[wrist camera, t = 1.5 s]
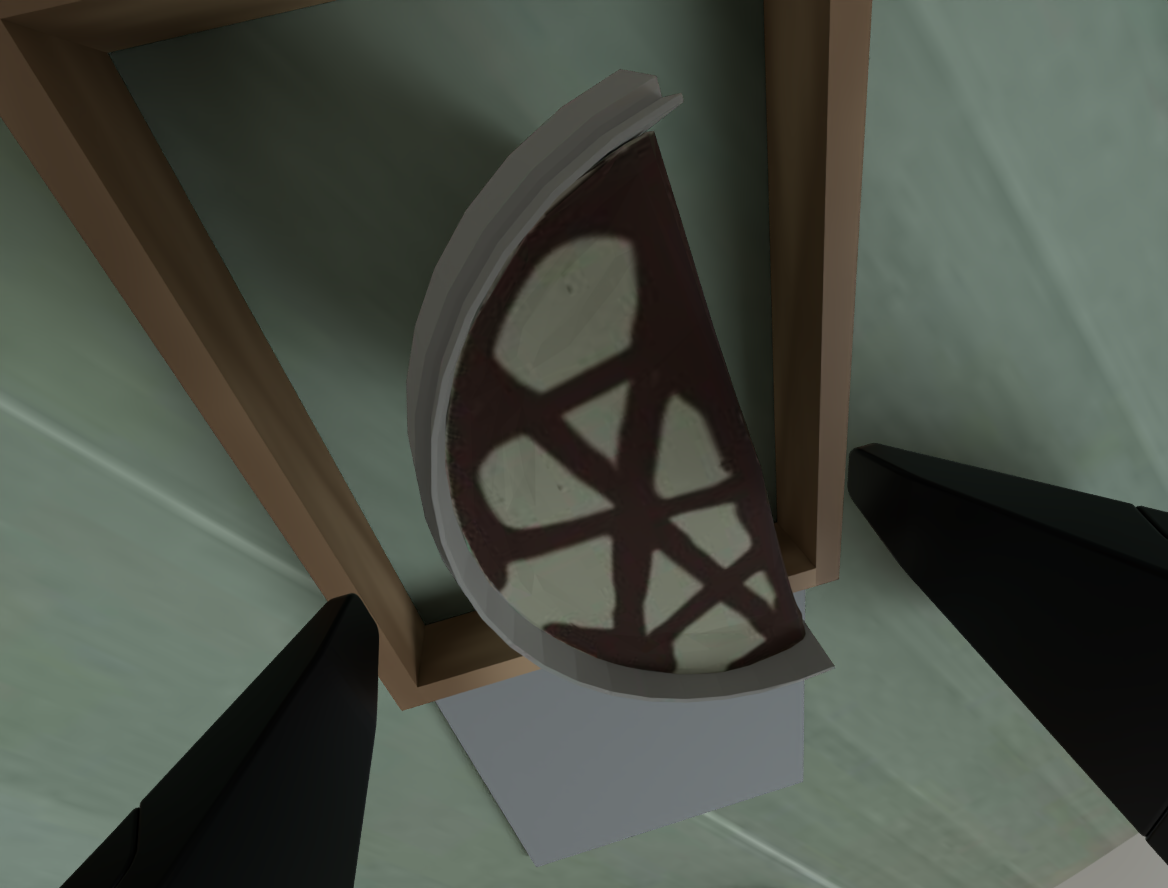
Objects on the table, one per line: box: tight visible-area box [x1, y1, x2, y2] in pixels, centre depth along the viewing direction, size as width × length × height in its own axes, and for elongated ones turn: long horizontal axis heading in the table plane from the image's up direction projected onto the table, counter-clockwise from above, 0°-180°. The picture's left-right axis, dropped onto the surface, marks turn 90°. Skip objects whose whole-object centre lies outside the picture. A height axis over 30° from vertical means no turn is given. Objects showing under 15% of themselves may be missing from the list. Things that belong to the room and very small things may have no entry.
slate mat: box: [436, 590, 805, 867], centre depth 28 cm, size 18×18×1 cm
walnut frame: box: [0, 0, 872, 711], centre depth 16 cm, size 18×22×3 cm
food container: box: [406, 69, 835, 703], centre depth 13 cm, size 12×6×10 cm, turn 23°
